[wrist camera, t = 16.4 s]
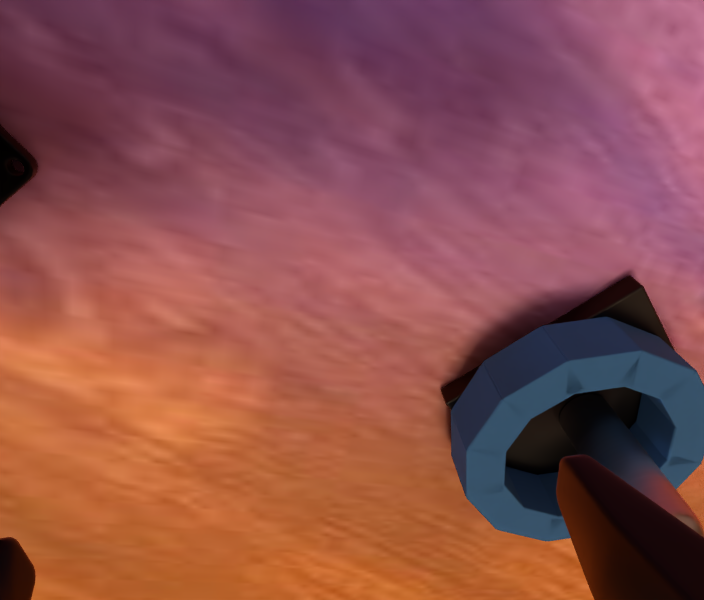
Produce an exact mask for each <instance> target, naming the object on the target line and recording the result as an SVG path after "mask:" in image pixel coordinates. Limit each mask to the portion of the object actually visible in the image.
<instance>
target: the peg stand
mask: <svg viewBox="0 0 704 600" xmlns="http://www.w3.org/2000/svg"><path fill="white" fill-rule="evenodd" d="M600 317H610V318H613V319H615V320H618V321H620V322H623V323H625V324H628V325H630V326H633V327H636V328H638V329H641V330H643V331H646V332H648V333H651V334H653V335H656V336H658V337H660V338H661V339H662V340H663V341H664V342H665V343H666V344H668V345H669V346H670V347H671V348H672V349H673V350H674V348H673V346H672V344H671V342H670V340H669V338H668V336H667V334H666V332H665V330H664V328H663V326H662V324H661V322H660V320H659V318H658V316H657V314H656V312H655V309H654V307H653V305H652V303H651V301H650V299H649V297H648V295H647V293H646V291H645V289H644V287H643V286H642V285H641V284H640V283H638V282H637V281H636V280H635V279H634V278H632V277H631V276H628V277H626V278H624V279H623V280H621V281H619V282H618V283H616V284H614V285H613V286H611V287H610V288H608V289H606V290H605V291H603V292H601V293H600V294H598V295H596V296H595V297H593V298H591V299H590V300H588V301H586V302H585V303H583V304H581V305H580V306H578V307H576V308H575V309H573V310H571V311H570V312H568V313H566V314H565V315H563V316H561V317H560V318H558V319H557V320H555V321H553V322H552V323H550V324H557V323H564V322H571V321H578V320H586V319H593V318H600ZM550 324H548V325H550ZM674 351H675V350H674ZM480 366H481V365H480ZM480 366H479V367H480ZM479 367H477V368H475V369H474V370H472V371H470V372H469V373H467V374H465V375H464V376H462V377H460V378H459V379H457V380H455V381H454V382H452V383H451V384H449V385H447V386H446V387H444V388H442V389H441V392H442V395H443V398H444V400H445V403H446V405H447V406H448V407H449V408H450V409H451V410H452V408H453V407H454V405H455V404H456V402H457V401H458V399H459V398H460V396H461V394H462V393H463V391H464V390H465V388H466V387H467V385H468V384H469V382H470V381H471V379H472V378H473V376H474V375H475V373H476V372H477V370H478V369H479ZM641 395H642V393H641V392H638V391H635V390H633V389H630V388H627V387H619V388H612V389H605V390H598V391H591V392H584V393H577V394H574V395H572V396H570V397H569V398H567V399H565V400H563V401H562V402H560V403H558V404H556V405H555V406H553V407H551V408H549V409H548V410H546V411H544V412H542V413H541V414H539V415H537V416H535V417H534V418H532V419H530V421H529V422H528V423H527V425H526V426H525V427H524V429H523V430H522V431H521V433H520V434H519V435H518V437H517V438H516V439H515V441H514V442H513V443H512V445H511V446H510V447H509V449H508V450H507V451H506V463H505V466H507V467H510V468H514V469H517V470H521V471H525V472H528V473H532V474H536V475H540V474H547V473H554V472H558V471H559V464H560V460H561V459H562V458H563V457H565V456H572V455H579V454H585V455H588V456H590V457H592V458H593V459H594V460H596V461H597V462H599V463H600V464H601V465H603V466H604V467H606V468H607V469H609V470H610V471H611V472H613V473H614V474H616V475H617V476H618V477H620V478H621V479H623V480H624V481H625V482H627V483H628V484H630V485H631V486H632V487H634V488H635V489H637V490H638V491H640V492H641V493H642V494H644V495H645V496H647V497H648V498H649V499H651V500H652V501H654V502H655V503H656V504H658V505H659V506H661V507H662V508H663V509H665V510H666V511H668V512H669V513H670V514H672V515H673V516H675V517H676V518H678V519H679V520H680V521H682V522H683V523H685V524H686V525H687V526H689V527H690V528H692V529H693V530H694V531H696V532H697V533H699V534H700V535H701V536H703V537H704V531H703V528H702V525H701V523H700V521H699V519H698V518H697V516H696V515H695V513H694V512H693V511H692V510H691V508H690V507H689V506H688V504H687V503H686V502H685V501H684V499H683V498H682V497H681V496H680V494H679V493H678V492H677V490H676V489H675V488H674V487H673V485H672V484H671V483H670V481H669V480H668V479H667V478H666V476H665V475H664V474H663V473H662V471H661V470H660V469H659V467H658V466H657V465H656V464H655V462H654V461H653V460H652V458H651V457H650V456H649V455H648V453H647V452H646V451H645V450H644V448H643V447H642V446H641V444H640V443H639V442H638V441H637V439H636V438H635V437H634V436H633V434H632V433H631V432H630V430H629V429H630V427H631V426H632V425H633V424H634V423H635V422H636V419H637V414H638V409H639V405H640V400H641Z"/></svg>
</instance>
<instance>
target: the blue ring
mask: <svg viewBox="0 0 704 600" xmlns="http://www.w3.org/2000/svg"><path fill="white" fill-rule="evenodd" d="M483 362H484V363H482V364H481V366H480V367H479V369H478V370H477V372H476V373H475V375H474V376H473V378H472V379H471V381H470V382H469V384H468V385H467V387H466V388H465V390H464V391H463V393H462V394H461V396H460V398H459V399H458V401H457V402H456V404H455V405H454V407H453V408H452V410H451V455H452V458H453V461H454V464H455V467H456V470H457V473H458V476H459V478H460V481H461V484H462V487H463V490H464V493H465V496H466V498H467V499H468V500H469V501H470V502H471V503H472V504H473V505H474V506H475V507H476V508H477V510H478V511H479V512H480V513H481V514H482V515H483V516H484V517H485V518H486V519H487V520H488V521H489V522H490V523H491V524H492V525H493V526H494V528H495V529H497V530H500V531H504V532H509V533H513V534H517V535H521V536H525V537H530V538H534V539H538V540H542V541H554V540H560V539H567V538H571V537H570V535H569V532H568V529H567V527H566V524H565V521H564V518H563V516H562V513H561V510H560V508H559V505H558V502H557V497H556V486H557V478H558V472H554V473H547V474H540V475H536V474H532V473H528V472H525V471H521V470H517V469H514V468H510V467H507V466H505V463H506V451H507V450H508V449H509V447H510V446H511V445H512V443H513V442H514V441H515V439H516V438H517V437H518V435H519V434H520V433H521V431H522V430H523V429H524V427H525V426H526V425H527V423H528V422H529V421H530V419H532V418H534V417H535V416H537V415H539V414H541V413H542V412H544V411H546V410H548V409H549V408H551V407H553V406H555V405H556V404H558V403H560V402H562V401H563V400H565V399H567V398H569V397H570V396H572V395H574V394H577V393H584V392H591V391H598V390H605V389H612V388H619V387H627V388H630V389H633V390H635V391H638V392H641V393H642V395H641V400H640V405H639V409H638V414H637V419H636V422H635V423H634V424H633V425H632V426H631V427H630V429H629V430H630V432H631V433H632V434H633V436H634V437H635V438H636V439H637V441H638V442H639V443H640V444H641V446H642V447H643V448H644V450H645V451H646V452H647V453H648V455H649V456H650V457H651V458H652V460H653V461H654V462H655V464H656V465H657V466H658V467H659V469H660V470H661V471H662V473H663V474H664V475H665V476H666V478H667V479H668V480H669V481H670V483H671V484H672V485H673V487H674V488H675V489H677V488H678V487H679V486H680V485H681V484H682V483H683V482H684V481H685V480H686V479H687V478H688V476H689V475H690V474H691V473H692V472H693V471H694V470H695V469H696V468H697V467H698V466H699V465H700V464H701V461H702V460H703V456H704V385H703V383H702V381H701V379H700V377H699V375H698V373H697V371H696V370H695V369H694V368H693V367H692V366H690V365H689V364H688V363H687V362H686V361H685V360H684V359H683V358H682V357H681V356H680V355H678V354H677V353H676V352H675V351H674V350H673V349H672V348H671V347H670V346H669V345H668V344H666V343H665V342H664V341H663V340H662V339H661V338H660V337H658V336H656V335H653V334H651V333H648V332H646V331H643V330H641V329H638V328H636V327H633V326H630V325H628V324H625V323H623V322H620V321H618V320H615V319H613V318H610V317H600V318H593V319H586V320H578V321H571V322H564V323H557V324H550V325H543V326H540V327H539V328H537V329H535V330H534V331H532V332H530V333H529V334H527V335H525V336H524V337H522V338H521V339H519V340H517V341H516V342H514V343H512V344H511V345H509V346H507V347H506V348H504V349H502V350H501V351H499V352H498V353H496V354H494V355H493V356H491V357H489V358H488V359H486V360H484V361H483Z"/></svg>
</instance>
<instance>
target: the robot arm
mask: <svg viewBox="0 0 704 600" xmlns="http://www.w3.org/2000/svg"><path fill="white" fill-rule="evenodd" d="M12 160H17V161H19V162H21V163H22V165H23V166H24V172H19V171H18V170H16V169H15V168H14V166H13V164H12ZM37 170H38V165H37V162H36V160H35V158H34V157H33V156H32V155H31V154H30V153H29V152H28V151H27V150H26V149H25V148H24V147H23V146H22V145H21V144H20V143H19V142H18V141H17V140H16V139H15V138H14V137H12V136H11V135H10V134H9V133H8V132H7V131H6V130H5V129H4V128H3V127H2V126H1V125H0V206H1V205H2V204H4V203H5V202H6V201H7V200H8V199H9V198H10V197H12V196H13V195H14V194H15V193H16V192H17V191H18V190H20V189H21V188H22V187H23V186H24V185H25V184H26V183H28V182H29V181H30V180H31V179H32V178H33V177H34V176H35V175H36V173H37ZM556 497H557V502H558V505H559V508H560V510H561V513H562V516H563V518H564V521H565V524H566V527H567V529H568V532H569V535H570V537H571V540H572V543H573V545H574V548H575V551H576V553H577V556H578V559H579V561H580V564H581V567H582V569H583V572H584V575H585V577H586V580H587V582H588V585H589V588H590V590H591V593H592V595H593V597H594V599H595V600H704V537H703V536H701V535H700V534H699V533H697V532H696V531H694V530H693V529H692V528H690V527H689V526H687V525H686V524H685V523H683V522H682V521H680V520H679V519H678V518H676V517H675V516H673V515H672V514H670V513H669V512H668V511H666V510H665V509H663V508H662V507H661V506H659V505H658V504H656V503H655V502H654V501H652V500H651V499H649V498H648V497H647V496H645V495H644V494H642V493H641V492H640V491H638V490H637V489H635V488H634V487H632V486H631V485H630V484H628V483H627V482H625V481H624V480H623V479H621V478H620V477H618V476H617V475H616V474H614V473H613V472H611V471H610V470H609V469H607V468H606V467H604V466H603V465H601V464H600V463H599V462H597V461H596V460H594V459H593V458H592V457H590V456H588V455H585V454H579V455H572V456H565V457H563V458H562V459H561V460H560V464H559V471H558V478H557V486H556ZM34 585H35V569H34V566H33V564H32V563H31V561H30V560H29V558H28V556H27V555H26V553H25V552H24V550H23V549H22V547H21V545H20V544H19V542H18V541H17V540H16V539H14V538H12V537H6V538H0V600H31V597H32V593H33V589H34Z"/></svg>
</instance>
